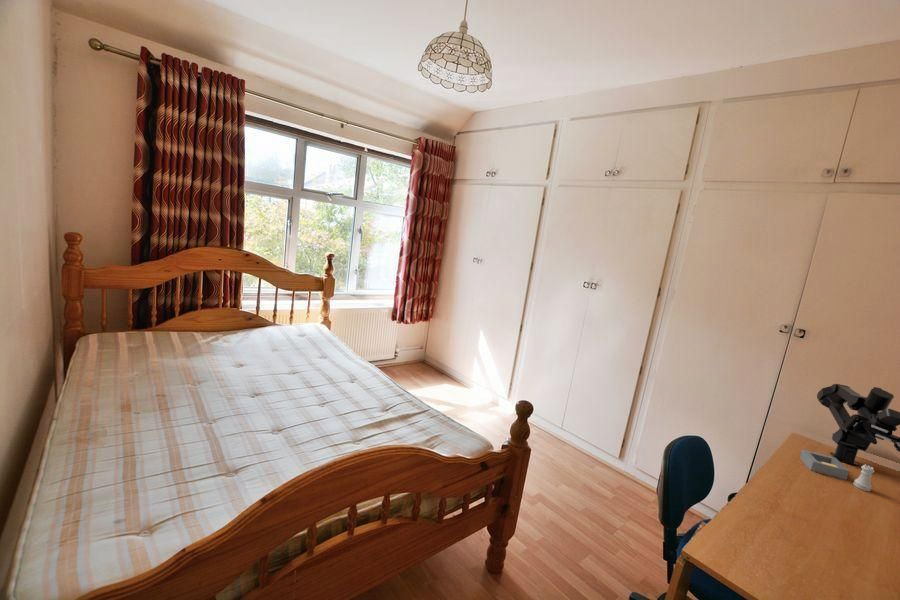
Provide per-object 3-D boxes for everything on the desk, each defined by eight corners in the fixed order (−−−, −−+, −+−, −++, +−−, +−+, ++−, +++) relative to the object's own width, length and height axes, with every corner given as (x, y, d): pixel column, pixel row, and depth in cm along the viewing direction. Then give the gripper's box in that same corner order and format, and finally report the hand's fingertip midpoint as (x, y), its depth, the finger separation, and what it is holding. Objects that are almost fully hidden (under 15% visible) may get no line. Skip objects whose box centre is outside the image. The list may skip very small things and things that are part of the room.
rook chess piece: (850, 484, 137) (856, 463, 136) (856, 482, 139) (862, 461, 138) (867, 493, 134) (874, 471, 132) (873, 490, 135) (880, 469, 134)
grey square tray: (799, 457, 153) (802, 448, 153) (832, 466, 149) (835, 457, 149) (810, 470, 144) (813, 461, 144) (846, 480, 140) (849, 470, 140)
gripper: (857, 392, 142) (875, 419, 129) (922, 416, 136) (948, 447, 123) (836, 414, 147) (852, 443, 135) (899, 438, 142) (921, 470, 129)
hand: (892, 450), depth 130 cm, fingers open, 9 cm apart
